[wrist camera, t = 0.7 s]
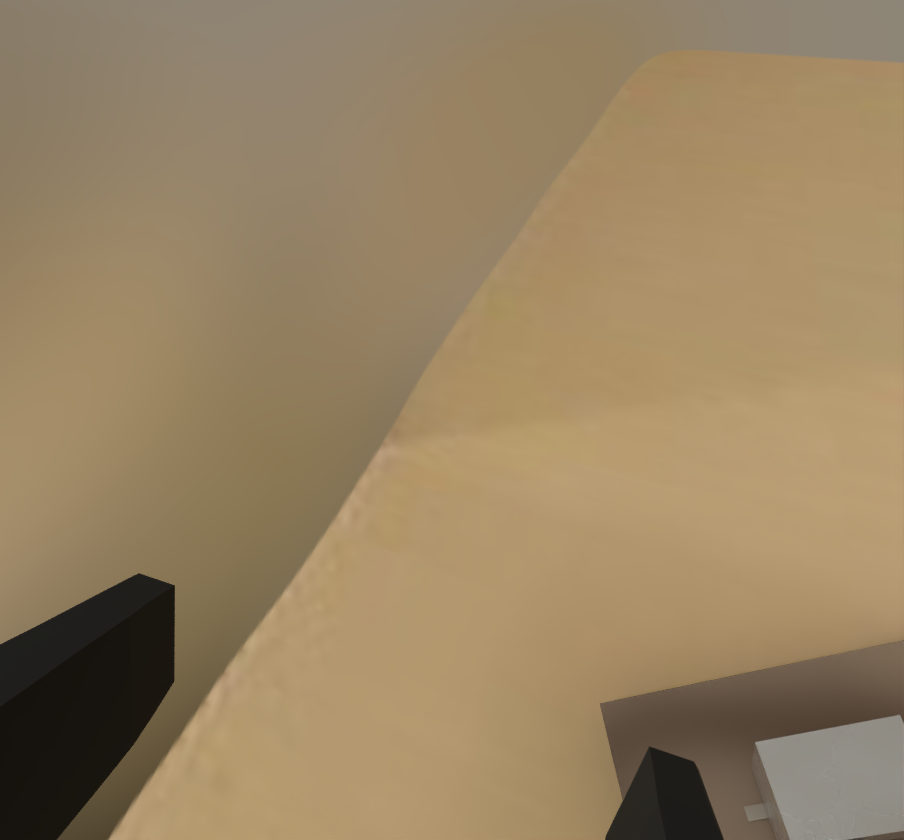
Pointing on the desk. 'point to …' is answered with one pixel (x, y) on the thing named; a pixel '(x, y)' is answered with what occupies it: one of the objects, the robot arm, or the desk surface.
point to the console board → (752, 723)
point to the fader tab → (835, 782)
